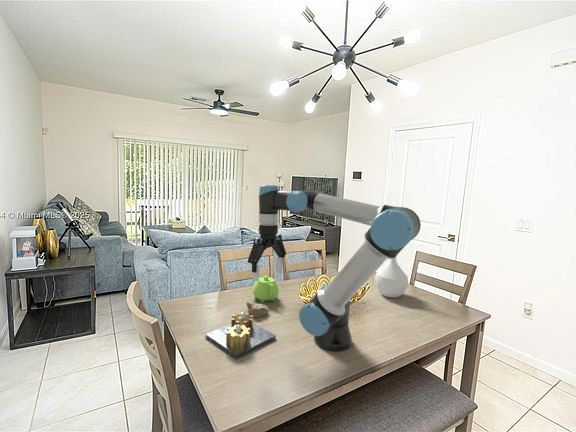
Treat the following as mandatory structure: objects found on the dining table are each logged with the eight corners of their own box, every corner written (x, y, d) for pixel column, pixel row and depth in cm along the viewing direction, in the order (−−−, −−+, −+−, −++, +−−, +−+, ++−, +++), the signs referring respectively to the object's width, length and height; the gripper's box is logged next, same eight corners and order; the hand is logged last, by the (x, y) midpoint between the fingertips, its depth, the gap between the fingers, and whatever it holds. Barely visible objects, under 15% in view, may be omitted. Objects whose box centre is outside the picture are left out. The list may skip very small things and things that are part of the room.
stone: (252, 319, 140) (252, 309, 140) (245, 309, 150) (245, 299, 150) (270, 316, 144) (270, 306, 143) (262, 306, 154) (262, 297, 154)
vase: (369, 288, 186) (373, 241, 182) (397, 289, 188) (402, 241, 184) (381, 301, 168) (386, 248, 164) (412, 301, 170) (418, 249, 166)
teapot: (246, 293, 170) (247, 272, 168) (268, 290, 176) (269, 269, 174) (261, 308, 152) (262, 283, 151) (284, 303, 159) (285, 280, 157)
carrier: (275, 338, 124) (276, 319, 123) (236, 358, 109) (236, 336, 108) (244, 321, 137) (244, 303, 136) (205, 337, 123) (205, 317, 121)
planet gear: (254, 343, 117) (254, 330, 117) (236, 352, 111) (236, 339, 110) (240, 334, 123) (240, 322, 123) (221, 342, 117) (222, 330, 116)
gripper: (281, 220, 132) (280, 267, 134) (238, 226, 113) (238, 281, 115) (295, 222, 127) (294, 271, 130) (252, 228, 108) (252, 286, 111)
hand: (267, 276), depth 123 cm, fingers open, 13 cm apart
